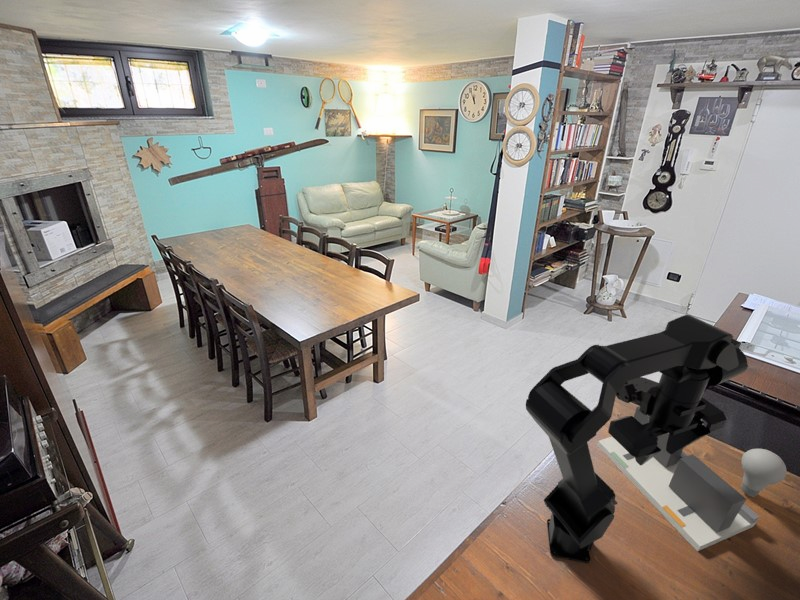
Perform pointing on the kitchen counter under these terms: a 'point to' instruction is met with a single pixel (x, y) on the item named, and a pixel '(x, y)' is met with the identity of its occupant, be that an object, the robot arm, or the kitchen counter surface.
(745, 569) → the kitchen counter surface
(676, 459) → the block
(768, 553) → the kitchen counter surface
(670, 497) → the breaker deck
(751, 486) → the lightbulb
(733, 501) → the block
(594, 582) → the kitchen counter surface
